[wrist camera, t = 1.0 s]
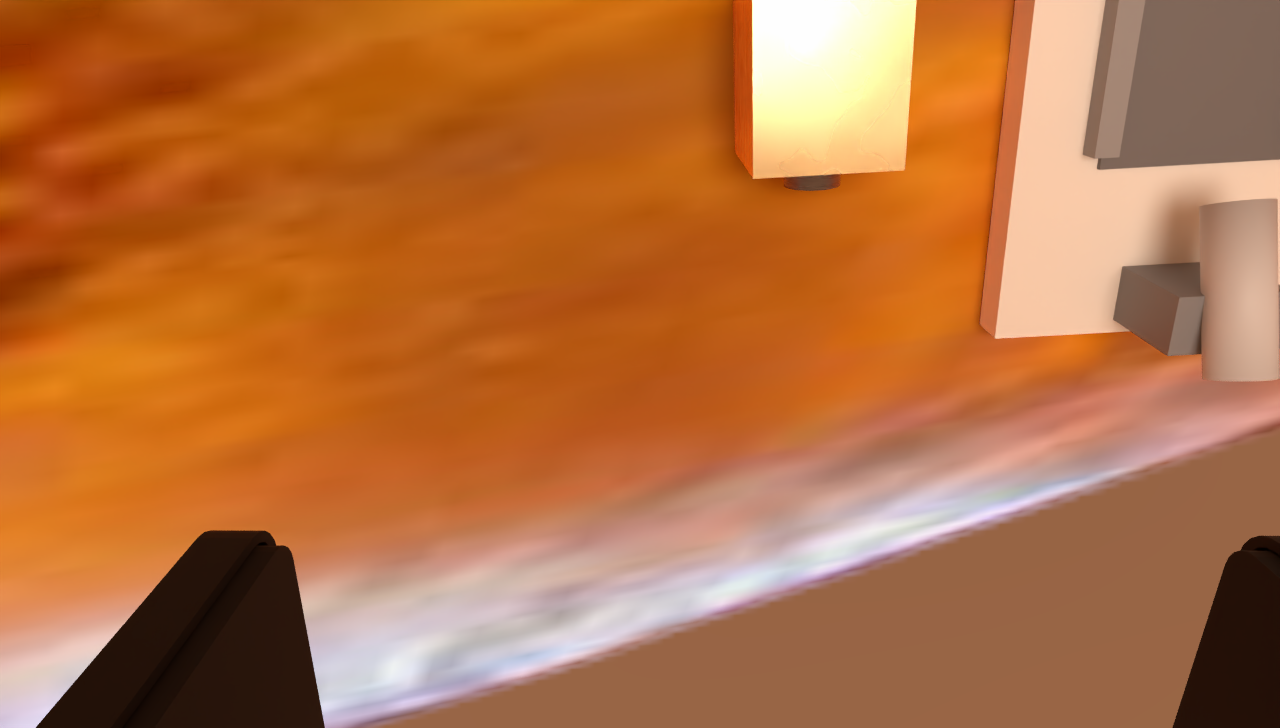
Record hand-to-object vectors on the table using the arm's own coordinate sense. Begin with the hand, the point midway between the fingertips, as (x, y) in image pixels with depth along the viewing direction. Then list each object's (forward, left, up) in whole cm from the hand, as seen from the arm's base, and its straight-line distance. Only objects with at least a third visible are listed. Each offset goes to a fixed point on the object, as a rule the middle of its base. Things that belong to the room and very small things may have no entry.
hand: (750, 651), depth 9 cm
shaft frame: (-4, +18, -23) cm, 29 cm away
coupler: (-4, +5, -24) cm, 24 cm away
